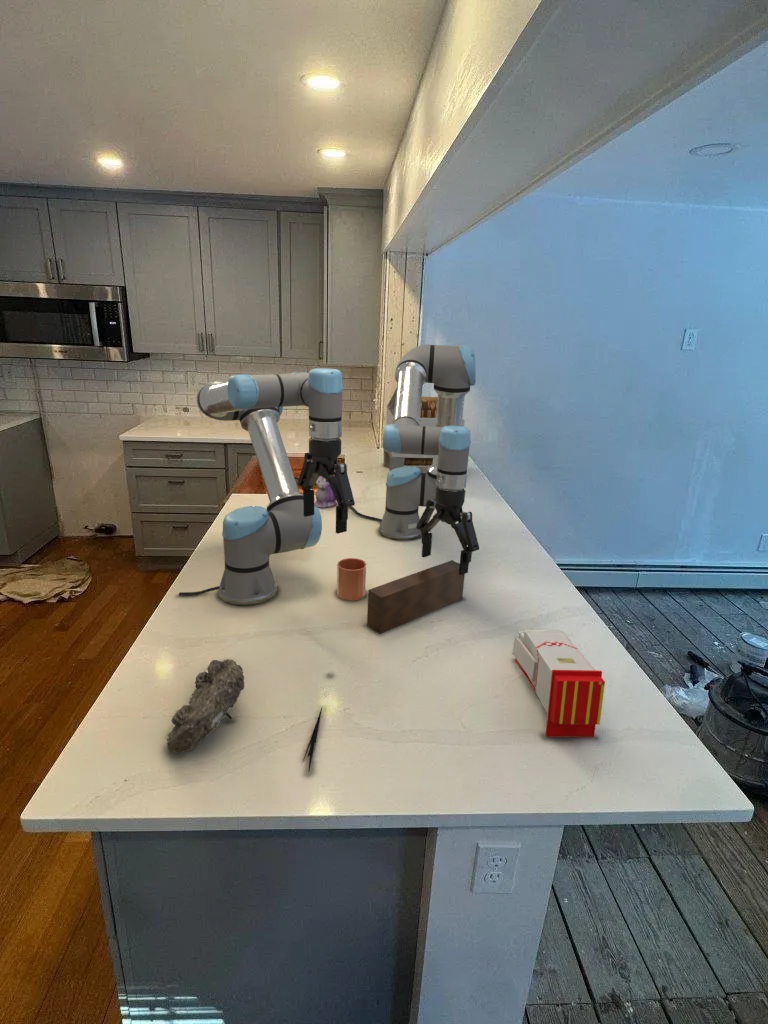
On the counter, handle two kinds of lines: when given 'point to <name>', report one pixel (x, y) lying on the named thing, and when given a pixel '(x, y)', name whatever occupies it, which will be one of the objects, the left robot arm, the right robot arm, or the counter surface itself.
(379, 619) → the walnut box
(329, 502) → the figurine
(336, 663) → the counter surface
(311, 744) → the feather
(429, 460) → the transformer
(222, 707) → the fossil
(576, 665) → the toy
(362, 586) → the terracotta cup
